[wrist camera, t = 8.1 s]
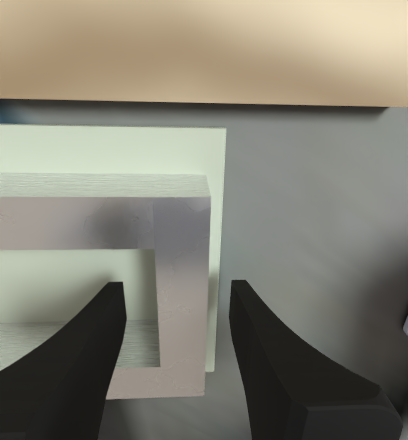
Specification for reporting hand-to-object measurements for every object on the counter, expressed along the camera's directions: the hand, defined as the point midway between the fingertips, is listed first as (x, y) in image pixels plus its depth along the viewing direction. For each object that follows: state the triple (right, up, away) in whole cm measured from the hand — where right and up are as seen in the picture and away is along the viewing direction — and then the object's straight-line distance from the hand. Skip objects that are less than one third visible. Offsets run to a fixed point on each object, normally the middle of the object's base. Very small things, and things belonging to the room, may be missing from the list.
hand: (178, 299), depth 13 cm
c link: (-5, +1, +2) cm, 5 cm away
